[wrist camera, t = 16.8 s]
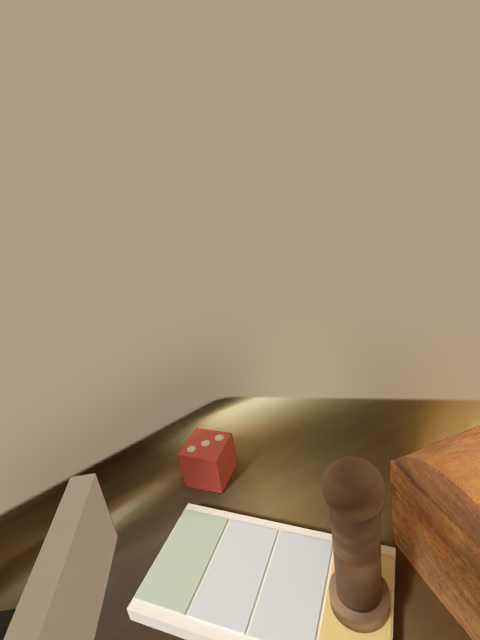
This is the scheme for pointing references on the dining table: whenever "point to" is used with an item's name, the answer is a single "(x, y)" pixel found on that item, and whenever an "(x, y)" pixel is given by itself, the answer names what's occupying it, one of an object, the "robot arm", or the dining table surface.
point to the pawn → (356, 544)
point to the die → (208, 460)
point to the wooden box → (442, 521)
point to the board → (246, 582)
